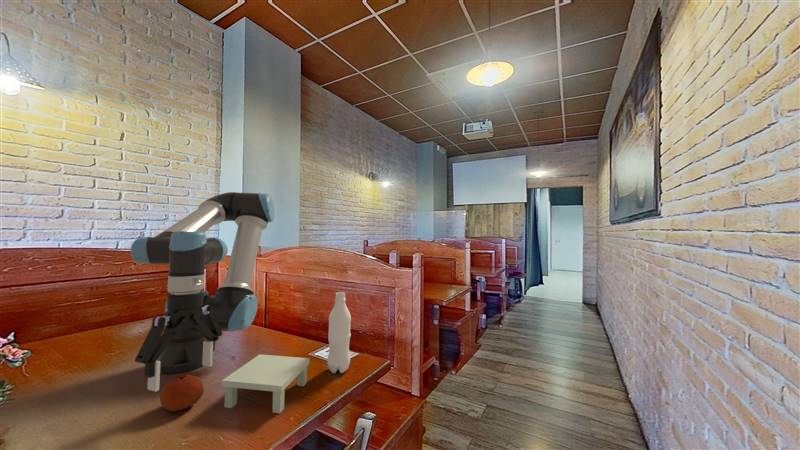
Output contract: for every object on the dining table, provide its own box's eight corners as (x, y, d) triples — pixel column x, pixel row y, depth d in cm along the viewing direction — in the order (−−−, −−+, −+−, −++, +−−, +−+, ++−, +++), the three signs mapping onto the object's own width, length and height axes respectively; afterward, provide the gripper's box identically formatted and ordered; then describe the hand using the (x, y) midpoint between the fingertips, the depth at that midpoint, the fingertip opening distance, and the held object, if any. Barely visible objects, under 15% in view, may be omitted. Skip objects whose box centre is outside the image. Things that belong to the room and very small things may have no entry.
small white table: (221, 408, 76) (222, 380, 76) (259, 377, 91) (259, 354, 91) (280, 414, 73) (281, 386, 74) (308, 382, 89) (309, 358, 89)
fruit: (169, 422, 70) (170, 388, 70) (154, 409, 74) (155, 377, 74) (210, 404, 77) (211, 373, 77) (193, 393, 82) (194, 364, 82)
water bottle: (344, 376, 93) (346, 295, 93) (323, 373, 94) (325, 294, 95) (352, 366, 100) (354, 291, 100) (332, 364, 101) (334, 290, 102)
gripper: (141, 303, 63) (136, 406, 62) (237, 285, 87) (235, 359, 86) (117, 300, 65) (112, 399, 65) (217, 283, 89) (215, 355, 88)
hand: (182, 376), depth 75 cm, fingers open, 13 cm apart
